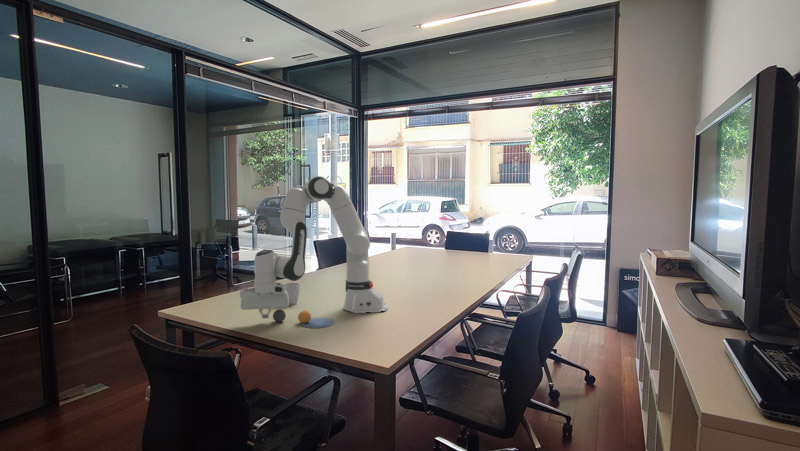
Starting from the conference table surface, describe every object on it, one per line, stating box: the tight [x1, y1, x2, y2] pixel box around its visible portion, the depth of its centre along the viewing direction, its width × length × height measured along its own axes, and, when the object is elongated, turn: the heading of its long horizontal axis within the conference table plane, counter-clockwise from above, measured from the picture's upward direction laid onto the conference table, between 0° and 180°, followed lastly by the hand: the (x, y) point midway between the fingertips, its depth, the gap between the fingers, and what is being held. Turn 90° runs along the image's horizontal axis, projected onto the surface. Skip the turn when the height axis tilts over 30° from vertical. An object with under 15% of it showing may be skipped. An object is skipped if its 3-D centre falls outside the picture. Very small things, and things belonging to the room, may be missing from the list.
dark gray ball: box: [272, 308, 287, 323], centre depth 175 cm, size 6×6×6 cm
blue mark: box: [300, 317, 335, 329], centre depth 174 cm, size 14×14×1 cm
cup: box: [284, 282, 301, 305], centre depth 205 cm, size 8×8×10 cm
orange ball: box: [297, 310, 312, 324], centre depth 174 cm, size 6×6×6 cm
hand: (265, 318), depth 174 cm, fingers closed
